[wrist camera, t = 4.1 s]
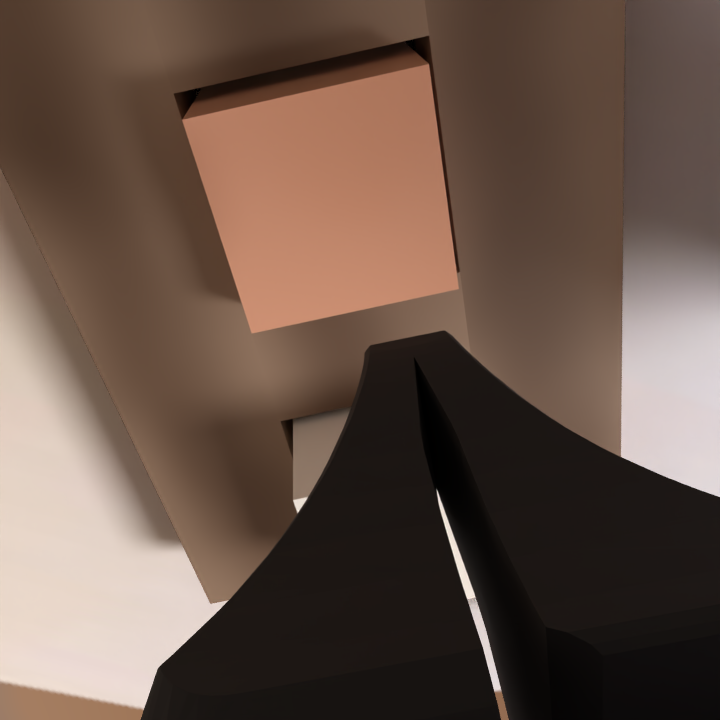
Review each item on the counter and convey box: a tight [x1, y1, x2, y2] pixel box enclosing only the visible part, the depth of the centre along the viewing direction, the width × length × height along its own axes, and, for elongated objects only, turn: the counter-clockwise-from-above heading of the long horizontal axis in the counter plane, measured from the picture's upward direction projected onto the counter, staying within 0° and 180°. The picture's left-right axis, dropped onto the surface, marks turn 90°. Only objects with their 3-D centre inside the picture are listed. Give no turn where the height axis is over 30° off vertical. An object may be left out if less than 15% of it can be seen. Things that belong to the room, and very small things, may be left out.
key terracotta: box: [182, 41, 459, 333], centre depth 16 cm, size 5×5×4 cm
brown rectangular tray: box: [0, 0, 625, 604], centre depth 17 cm, size 14×26×2 cm, turn 11°
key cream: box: [293, 406, 476, 599], centre depth 20 cm, size 5×5×4 cm
